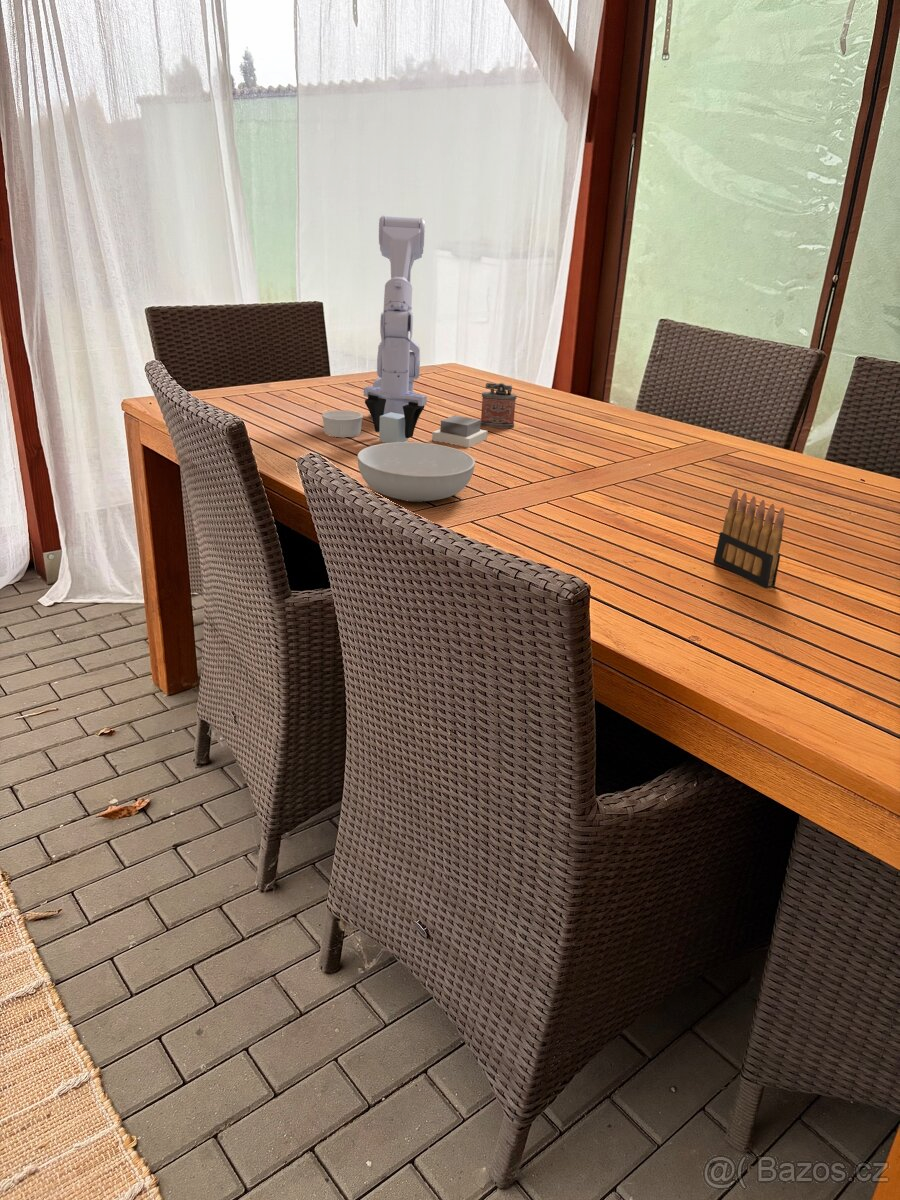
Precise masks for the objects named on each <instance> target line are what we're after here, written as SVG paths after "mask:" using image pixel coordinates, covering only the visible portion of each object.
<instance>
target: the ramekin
mask: <svg viewBox="0 0 900 1200" xmlns="http://www.w3.org/2000/svg"><path fill="white" fill-rule="evenodd" d="M321 417H322V422H323V423H322V425H323V432H324V434H325V435H326V434H327V435H326V436H328V435H330V436H329V437H331V436H335V437H334V438H336V437H351V438H355V437H354V436H356V437H358V436H359V435H360V434H361V433H362V431H361V430H362V420H363V414H362V413H361V412H358V411H353V410H343V409H342V410H341V409H339V410H337V409H336V410H328V411H325V412H322V413H321Z"/></svg>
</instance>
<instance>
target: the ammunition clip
mask: <svg viewBox="0 0 900 1200" xmlns="http://www.w3.org/2000/svg"><path fill="white" fill-rule="evenodd" d="M747 505H748V506H747ZM756 509H757V510H756ZM775 510H776V509H775V504H774V503H771V504H770V506H769V507H768V510H767V512H766V503H765V499H762V500H761V501H760V503H759V505H758V508H757V500H756V496H752V498H751V499H750V501H749V503H748V497H747V493H746V492H744V493H742V496H741V497H740V499H739V491H738V489H734V491H733V493H732V494H731V497H730V499H729V504H728V506H727V511H726V514H725V517H724V521H723V527H722V531H720V532H719V536H718V540H717V546H716V549H715V554H714V559H713V563H714V564H715V565H717V566H719V567H722V568H723V569H725V570H728V571H730V572H731V573H733V574H736V575H738V576H739V577H742V578H743V579H746V580H748V581H750V582H752V583H753V584H756V585H757V586H760V587H762V588H764V589H769V588H774V587H775V586H776V582H777V581H776V580H777V576H778V572H779V571H778V570H779V564H780V560H781V553H780V550H781V549H780V548H781V545H782V541H783V531H784V524H785V508H784V507H781V508H780V510H779V511H778V513H777V515H776V517H775V513H776V511H775ZM765 512H766V513H765Z"/></svg>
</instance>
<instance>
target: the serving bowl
mask: <svg viewBox="0 0 900 1200" xmlns="http://www.w3.org/2000/svg"><path fill="white" fill-rule="evenodd" d="M356 457H357V459H356V460H357V465H358V466H357V467H358V469H359V470H358V471H359V472H360V475H361V477H362V479H363V480H364V482H365V483H366V484H367V485H368V487H370V488H371V489H372V490H374V491H375V492H377V493H379V494H382V495H384V496H386V497H389V498H391V499H392V498H393V499H397V500H400V499H402V500H401V501H405V500H408V501H407V502H412V501H417V502H418V503H420V502H421V503H422V501H424V502H431V501H438V500H444V499H447V498H451V497H452V496H455V495H457V494H458V493H460V492H461V491H462V490H464V489H465V488H466V486H468V484H469V482H470V481H471V479H472V477H473V474H474V472H475V471H474V470H475V467H476V466H475V465H476V460H475V459H474V458H473V456H471V455H470V454H469V453H467V452H465V451H463V450H460V449H458V448H454V447H451V446H446V445H441V444H436V443H428V442H420V441H419V442H417V441H410V442H409V441H405V442H394V443H386V442H383V443H379V444H375V445H369V446H367V447H365V448H362V449H361V450H360V451H359V452H358V453H357V456H356Z"/></svg>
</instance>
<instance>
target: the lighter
mask: <svg viewBox="0 0 900 1200" xmlns="http://www.w3.org/2000/svg"><path fill="white" fill-rule="evenodd" d="M484 387H485V389H489V390H490V391H482V393H481V397H482V399H481V401H482V402H481V415H480V416H481V417H480V420H481V424H480V427H481V426H482V427H486V428H487V427H489V428H498V429H500V428H501V429H513V428H515V422H514V421H515V413H516V412H515V411H516V410H515V409H516V401H517V400H516V399H517V398H518V397H517V394H515V393H512V390H513V385H512V384H506V383H504V382H499V383H496V382H486V383H485V386H484ZM495 390H496V391H495Z"/></svg>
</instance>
